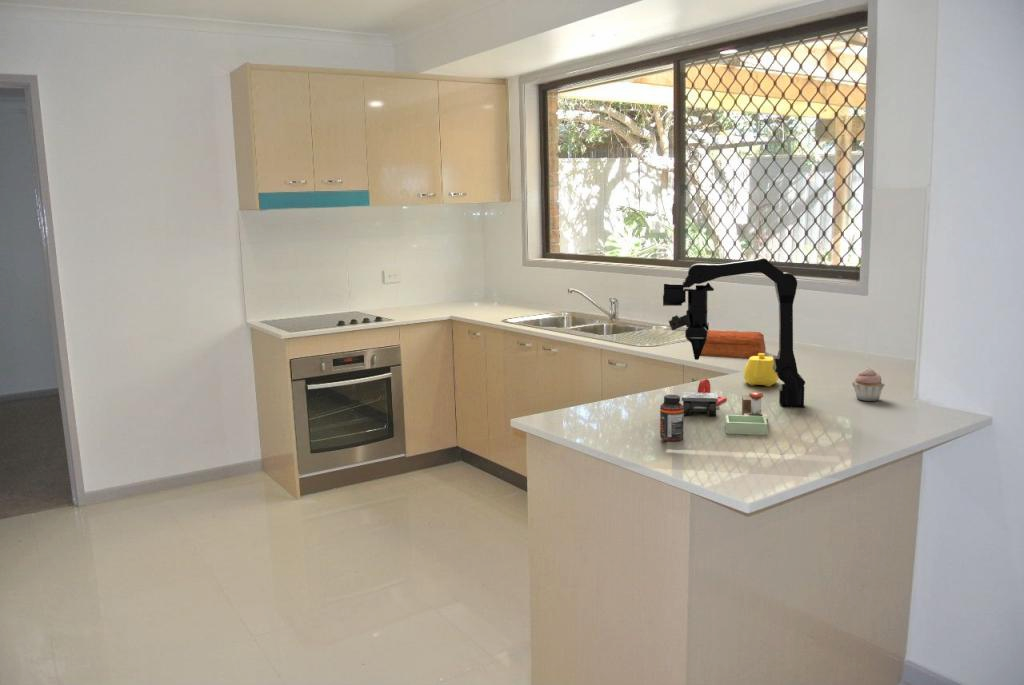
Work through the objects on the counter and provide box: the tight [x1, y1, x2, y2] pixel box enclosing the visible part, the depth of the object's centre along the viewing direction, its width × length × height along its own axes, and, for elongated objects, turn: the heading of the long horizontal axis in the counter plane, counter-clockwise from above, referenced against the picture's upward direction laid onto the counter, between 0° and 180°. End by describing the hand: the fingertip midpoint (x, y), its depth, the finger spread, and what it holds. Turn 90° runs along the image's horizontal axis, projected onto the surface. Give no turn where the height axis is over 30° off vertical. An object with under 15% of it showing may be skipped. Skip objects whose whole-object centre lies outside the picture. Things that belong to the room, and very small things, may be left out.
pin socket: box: [744, 412, 769, 427], centre depth 222 cm, size 6×6×2 cm
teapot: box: [743, 353, 779, 388], centre depth 269 cm, size 18×11×11 cm, turn 158°
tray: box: [725, 414, 768, 436], centre depth 215 cm, size 10×8×3 cm
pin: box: [748, 391, 764, 416], centre depth 222 cm, size 4×4×8 cm
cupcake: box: [851, 366, 886, 402], centre depth 246 cm, size 9×9×10 cm
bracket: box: [697, 378, 727, 406], centre depth 246 cm, size 12×4×8 cm, turn 143°
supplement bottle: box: [659, 394, 685, 442], centre depth 208 cm, size 6×6×11 cm
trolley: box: [681, 391, 720, 417], centre depth 233 cm, size 11×8×5 cm
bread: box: [700, 329, 767, 359], centre depth 322 cm, size 16×27×11 cm, turn 65°
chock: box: [741, 394, 751, 415], centre depth 232 cm, size 4×6×5 cm, turn 167°
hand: (697, 357), depth 245 cm, fingers open, 9 cm apart
